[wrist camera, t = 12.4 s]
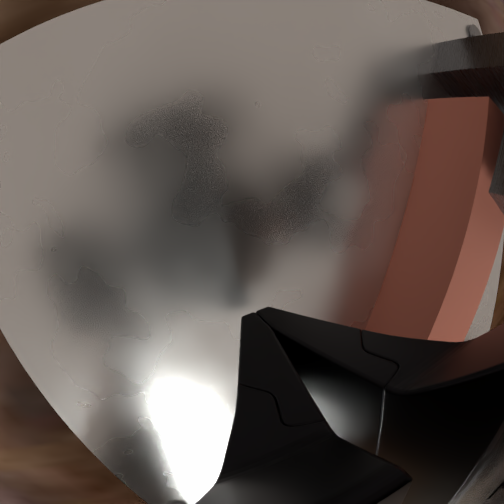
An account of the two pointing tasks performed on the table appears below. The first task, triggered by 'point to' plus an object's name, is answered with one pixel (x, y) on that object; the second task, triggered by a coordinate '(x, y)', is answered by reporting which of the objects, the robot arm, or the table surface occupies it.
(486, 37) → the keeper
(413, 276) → the link
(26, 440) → the table surface
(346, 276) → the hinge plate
